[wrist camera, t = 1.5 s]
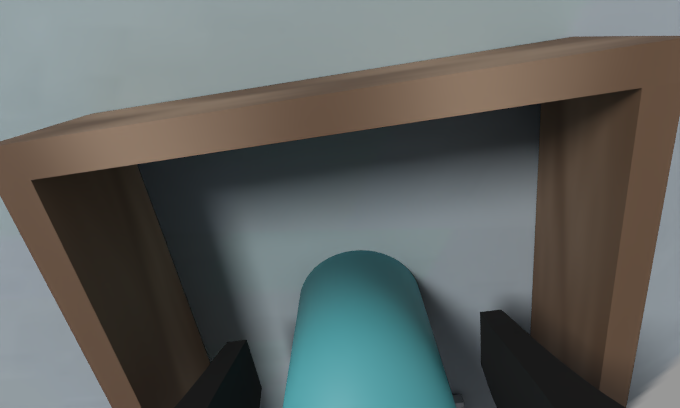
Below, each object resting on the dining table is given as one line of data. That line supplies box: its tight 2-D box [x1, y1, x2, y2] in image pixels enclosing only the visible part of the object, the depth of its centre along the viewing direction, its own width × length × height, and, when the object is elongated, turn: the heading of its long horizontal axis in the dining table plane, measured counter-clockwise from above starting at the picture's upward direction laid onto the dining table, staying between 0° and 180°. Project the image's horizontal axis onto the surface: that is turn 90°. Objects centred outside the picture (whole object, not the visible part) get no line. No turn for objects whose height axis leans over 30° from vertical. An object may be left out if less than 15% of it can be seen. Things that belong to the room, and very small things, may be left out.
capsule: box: [283, 250, 456, 408], centre depth 11 cm, size 4×4×6 cm
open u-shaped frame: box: [0, 36, 680, 408], centre depth 12 cm, size 14×13×4 cm
